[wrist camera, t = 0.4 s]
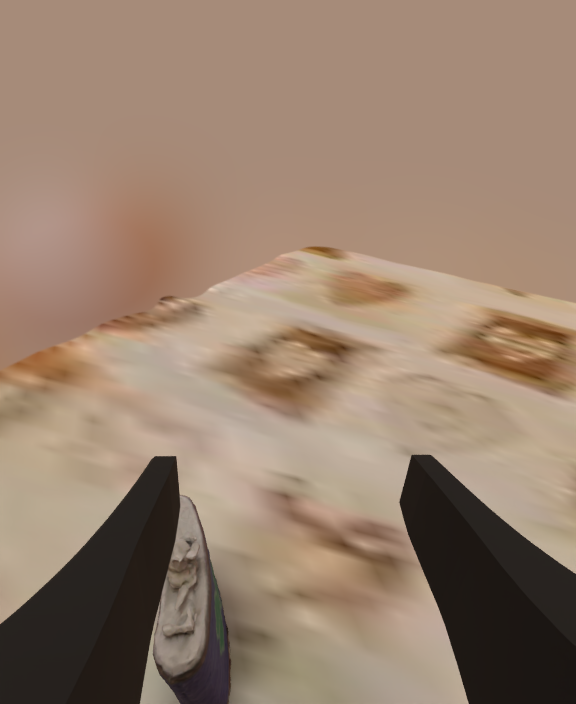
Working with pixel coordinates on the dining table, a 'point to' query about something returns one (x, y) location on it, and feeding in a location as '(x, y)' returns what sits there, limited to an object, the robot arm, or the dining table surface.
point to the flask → (192, 620)
